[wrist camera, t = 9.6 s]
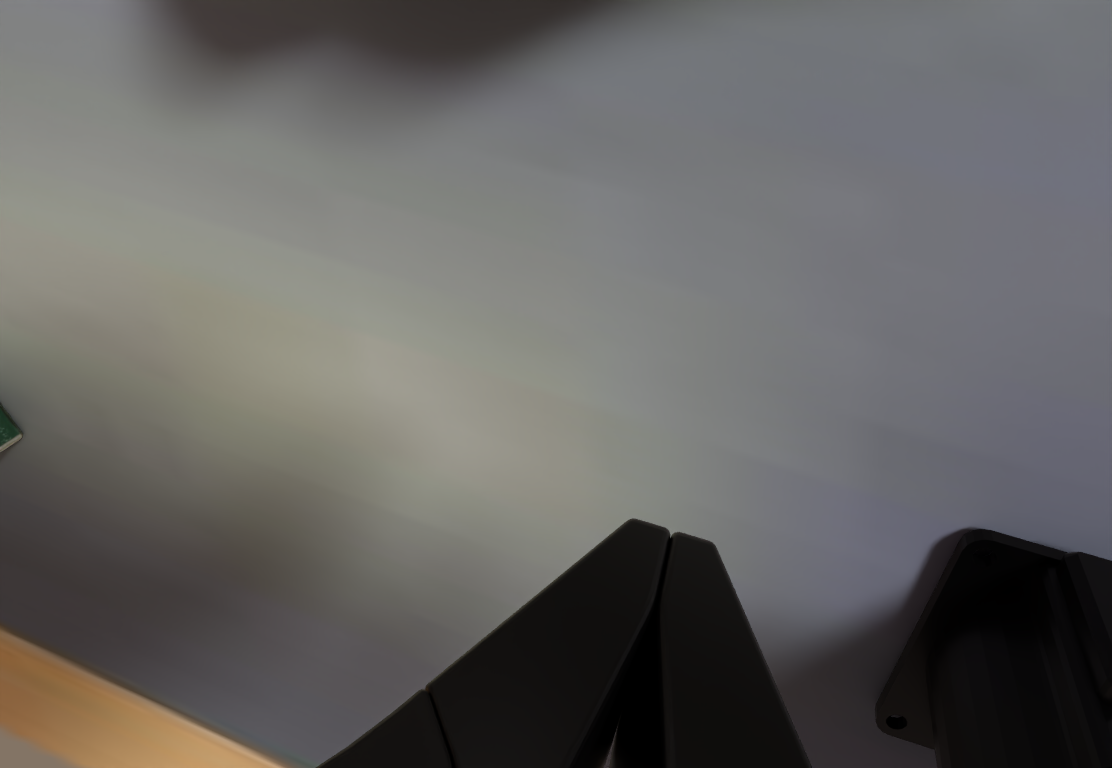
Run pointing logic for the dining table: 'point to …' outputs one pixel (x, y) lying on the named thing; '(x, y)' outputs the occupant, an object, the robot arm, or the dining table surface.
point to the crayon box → (8, 430)
